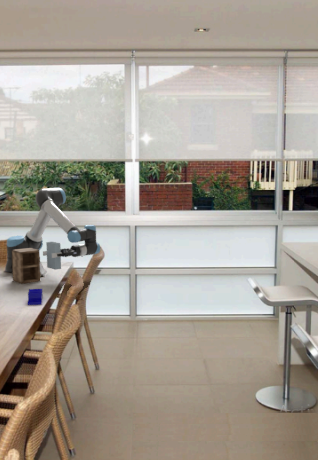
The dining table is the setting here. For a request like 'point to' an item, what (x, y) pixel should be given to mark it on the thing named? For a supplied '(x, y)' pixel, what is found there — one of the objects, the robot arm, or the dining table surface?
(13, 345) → the dining table surface
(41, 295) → the mounting bracket
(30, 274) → the cabinet
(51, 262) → the upright grey-blue slab
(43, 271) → the white rounded housing
